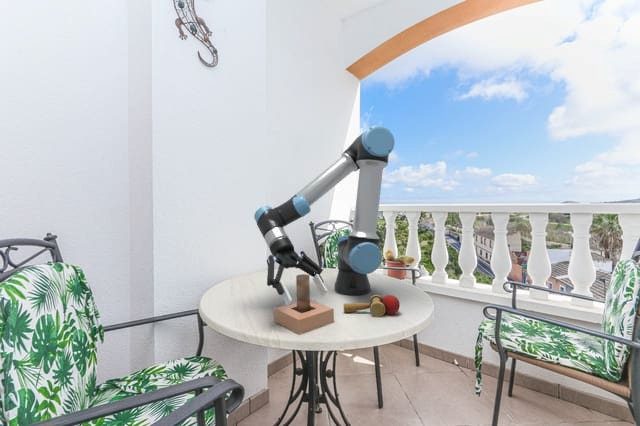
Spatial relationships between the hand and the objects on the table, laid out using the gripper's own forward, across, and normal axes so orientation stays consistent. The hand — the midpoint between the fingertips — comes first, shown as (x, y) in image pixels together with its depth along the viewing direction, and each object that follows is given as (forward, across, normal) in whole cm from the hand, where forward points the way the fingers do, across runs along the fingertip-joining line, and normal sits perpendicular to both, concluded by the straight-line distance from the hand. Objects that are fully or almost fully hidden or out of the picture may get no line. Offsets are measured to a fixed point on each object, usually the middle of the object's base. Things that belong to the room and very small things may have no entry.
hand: (308, 298), depth 87 cm
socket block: (+4, 0, -7) cm, 8 cm away
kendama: (+11, -21, 0) cm, 23 cm away
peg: (+4, 0, -7) cm, 8 cm away
